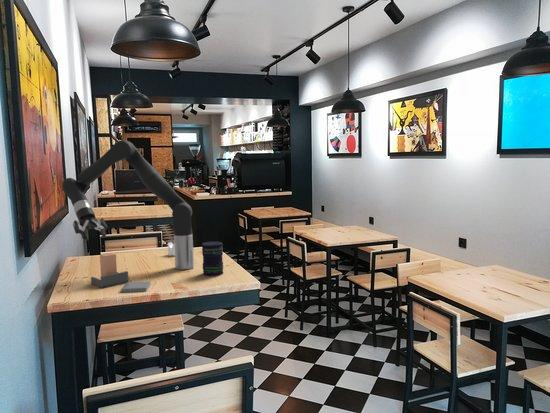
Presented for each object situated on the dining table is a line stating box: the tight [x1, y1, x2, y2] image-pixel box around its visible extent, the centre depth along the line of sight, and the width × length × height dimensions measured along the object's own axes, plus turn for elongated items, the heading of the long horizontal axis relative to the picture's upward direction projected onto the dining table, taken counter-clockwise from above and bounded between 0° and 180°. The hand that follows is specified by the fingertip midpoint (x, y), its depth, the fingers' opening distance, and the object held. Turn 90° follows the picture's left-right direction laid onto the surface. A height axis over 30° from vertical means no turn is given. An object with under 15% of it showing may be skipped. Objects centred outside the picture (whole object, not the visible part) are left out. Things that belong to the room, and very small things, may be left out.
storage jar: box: [201, 240, 224, 277], centre depth 196 cm, size 10×10×15 cm
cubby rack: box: [90, 271, 129, 289], centre depth 183 cm, size 11×12×5 cm
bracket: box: [167, 242, 195, 257], centre depth 243 cm, size 13×7×8 cm, turn 131°
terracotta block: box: [99, 252, 118, 277], centre depth 183 cm, size 5×5×12 cm
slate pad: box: [120, 280, 151, 293], centre depth 174 cm, size 10×10×2 cm
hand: (95, 237), depth 190 cm, fingers open, 8 cm apart
